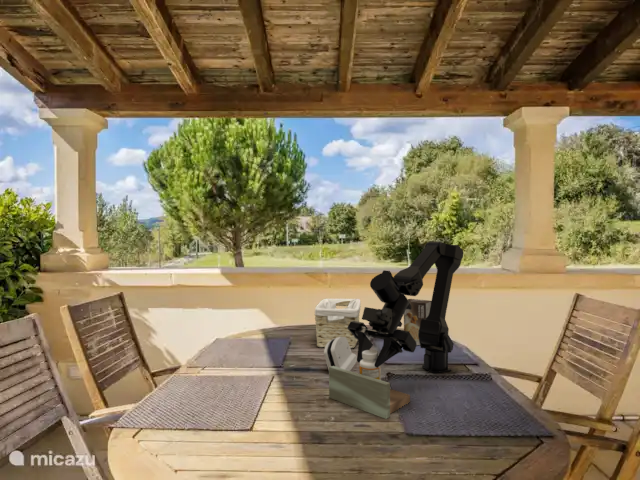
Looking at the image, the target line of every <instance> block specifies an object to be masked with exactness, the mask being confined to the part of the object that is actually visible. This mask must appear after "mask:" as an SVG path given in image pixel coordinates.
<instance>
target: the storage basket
mask: <svg viewBox="0 0 640 480" xmlns="http://www.w3.org/2000/svg"><path fill="white" fill-rule="evenodd" d="M361 302H362V301H361V298H324V299H321V300H320V301H319V302H318V304H317V305H316V306H315V308H314V316H315V317H314V319H315V332H316V334H315V335H316V346H317V347H319V348H325V346H326V344H327V343H328V342H329V341H330V340H332V339H334V338H338V337H346V339H347V341H348V344H349V346H350V349H353V348H355V347H356V345H357V342H359V340H358V339H356V338H355V337H354V336H353V335H352V333H351V332H350V331H349V330H348V329H347V327H348V326H349V324H350V322H351V321H357V322H360V314H361V313H360V312H361V307H362V306H361V304H362V303H361ZM337 307H344V308H337Z"/></svg>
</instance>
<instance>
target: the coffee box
mask: <svg viewBox="0 0 640 480" xmlns="http://www.w3.org/2000/svg"><path fill="white" fill-rule="evenodd" d="M407 299H408V298H407ZM408 300H410V304H411V308H412V309H411V310H408V309H406V310H405V313H404V315H403V330H404V331H409V333H410V334H411V335H412V337H413V338H414V340H415V341H416V346H418V345H420V342H419V338H418V333H419V332H418V331H419V328H420V322H421V320H422V319H426V317H427V316H428V315H429V311H430V306H431V301H432V300H426V299H415V298H409V299H408Z"/></svg>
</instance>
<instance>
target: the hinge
mask: <svg viewBox="0 0 640 480" xmlns="http://www.w3.org/2000/svg"><path fill="white" fill-rule="evenodd" d="M323 356H324V359H325V363H326V366H327V370H328V371H329V367H331V366H335V367H338V368H342V369H345V370H348V371H351V370H352V369H353V367H354V366H355V365H356V364H357V363H358V361H357V354H356V353H353V352H352V348H350V346H349V344H348V341H347V339H346V337H338V338H334V339H332V340H330V341H329V342H328V343H327V344H326V346H325V347H324V350H323Z"/></svg>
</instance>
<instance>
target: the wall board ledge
mask: <svg viewBox="0 0 640 480" xmlns="http://www.w3.org/2000/svg"><path fill="white" fill-rule="evenodd" d="M328 395H329V396H328V397H329V399H332V400H335V401H336V402H340V403H342V404H345V405H348V406H350V407H353V408H356V409H359V410H361V411H364V412H366V413H369V414H371V415H375V416H377V417H379V418H382V419H385V420H387V419H388V418H390V417H391V414H392V413H394V412H396V411H398V410H400V409H401V408H403V407H405V406H406V405H405V404H407V405H409V404H410V403H411V394H409V393H405V392H402V391H399V390H397V389H396V390H395V389H392V388H391V383H390V382H387V381H385V380H382V379H381V380H378V379H375V378H372V377H368V376H365V375H362V374H360V373H358V372H355V371H351V370H350V371H348V370H345V369H342V368H338V367H335V366H331V367H329V370H328ZM409 402H410V403H409ZM408 403H409V404H408ZM404 405H405V406H404ZM402 406H403V407H402ZM399 408H400V409H399Z"/></svg>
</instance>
